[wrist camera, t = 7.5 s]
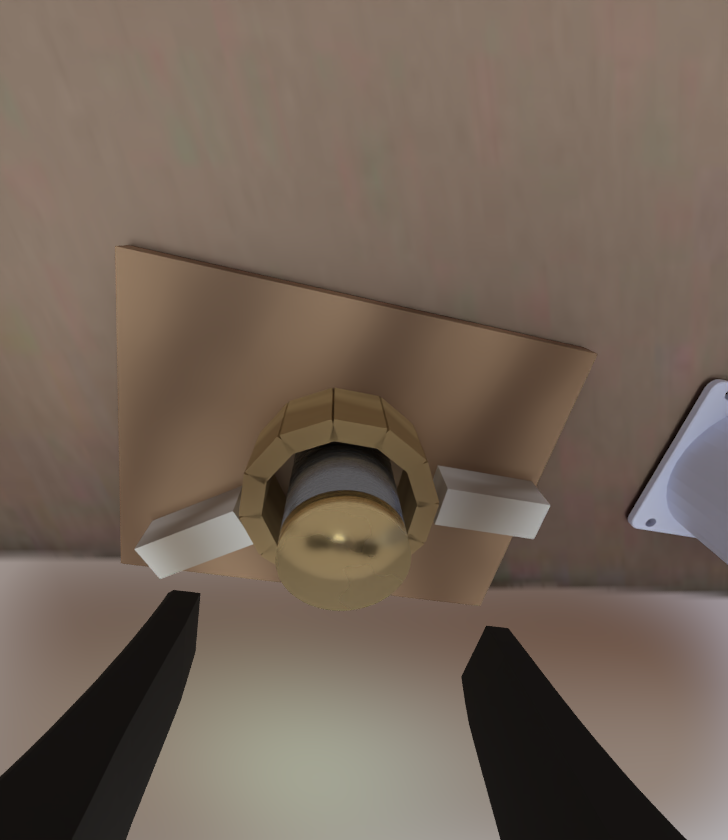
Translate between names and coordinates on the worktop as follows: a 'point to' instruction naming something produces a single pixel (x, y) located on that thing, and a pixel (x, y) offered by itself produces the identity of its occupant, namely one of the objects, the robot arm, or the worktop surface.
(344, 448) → the cylinder
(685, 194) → the worktop surface
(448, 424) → the shaft board
